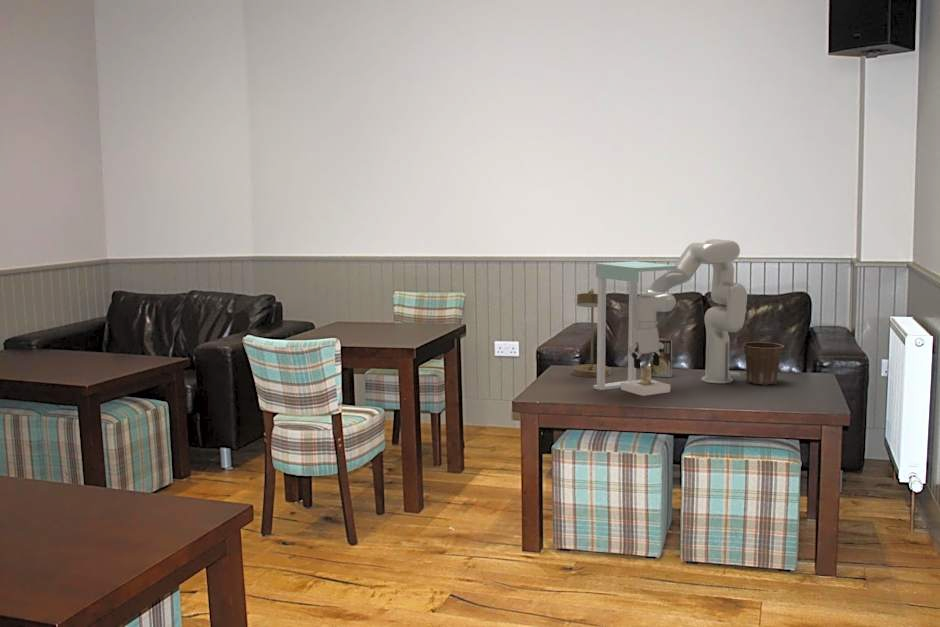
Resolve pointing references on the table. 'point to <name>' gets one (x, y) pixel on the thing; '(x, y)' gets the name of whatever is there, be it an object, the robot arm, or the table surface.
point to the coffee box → (663, 360)
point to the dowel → (645, 375)
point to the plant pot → (762, 362)
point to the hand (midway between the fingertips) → (646, 366)
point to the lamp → (591, 369)
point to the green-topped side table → (631, 274)
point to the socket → (645, 387)
